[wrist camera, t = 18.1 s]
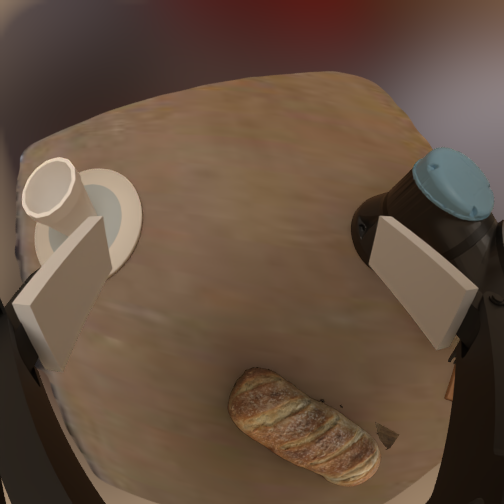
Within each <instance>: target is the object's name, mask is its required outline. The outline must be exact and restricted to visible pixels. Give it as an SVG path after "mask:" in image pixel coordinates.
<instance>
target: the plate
mask: <svg viewBox="0 0 504 504" xmlns="http://www.w3.org/2000/svg"><path fill="white" fill-rule="evenodd" d="M79 174H80V176H81V181H82V183H83V185H84V188H85V190H86V192H87V194H88V196H89V198H90V200H91V202H92V204H93V207H94V209H95V211H96V213H97V216H103V218H104V225H105V231H106V237H107V243H108V248H109V254H110V259H111V264H112V271H111V272H110V274H109V276H108V278H110V277H111V276H112V275H114V274H115V273H116V272H117V271H119V270H120V269H121V268H122V267H123V265H124V264H125V263H126V262H127V261H128V259H129V258H130V256H131V255H132V253H133V251H134V249H135V247H136V245H137V243H138V240H139V238H140V234H141V230H142V223H143V211H142V205H141V201H140V198H139V196H138V194H137V192H136V190H135V188H134V186H133V185H132V184H131V182H130V181H129V180H128V179H127V178H125V177H124V176H123V175H121V174H119V173H117V172H115V171H112V170H108V169H90V170H85V171H82V172H79ZM67 238H68V236H66V235H64V234H62V233H60V232H58V231H56V230H55V229H53V228H51V227H49V226H47V225H43V224H41V223H39V222H37V223H36V228H35V249H36V253H37V257H38V259H39V262H40V264H41V266H43V264H44V263H45V262H46V261H47V260H48V259H49V258H50V257H51V255H52V254H53V253H54V252H55V251H56V250H57V249H58V248H59V247H60V246H61V245H62V243H63V242H64V241H65V240H66V239H67ZM108 278H107V279H108Z"/></svg>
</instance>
